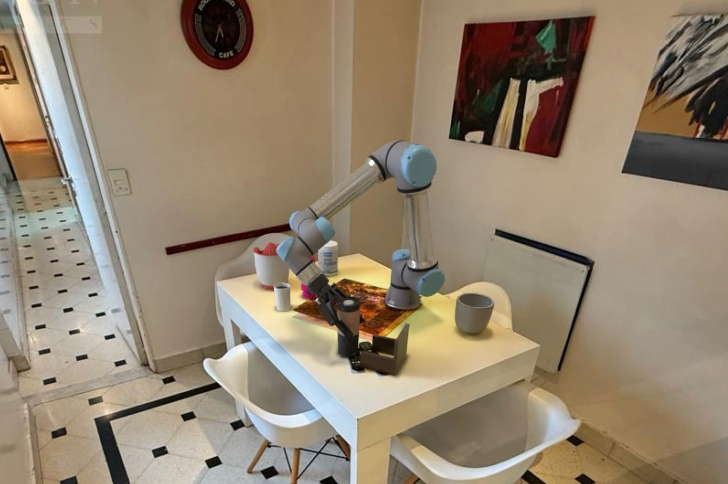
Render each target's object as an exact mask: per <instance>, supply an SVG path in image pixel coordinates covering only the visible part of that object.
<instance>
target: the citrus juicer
mask: <svg viewBox="0 0 728 484" xmlns="http://www.w3.org/2000/svg"><path fill="white" fill-rule="evenodd" d="M280 244H281V243H276V242H275V243H273V242H272V241H269V242H268V243H266V246H265V247H264V248H263V249H262V250H260V247H258V246H255V247H254V248H253V249H252V252H253V257H254V265H255V266H254V267H255V271H256V276H257V279H258V282H259V284H260V286H261V287H262V288H263V289H266V290H270V291H274V285H275V284H277V283H288V282H289V277H290V268H289V267H288V266H287V265H286V264H285V263H284V262H283V260H282V259H281V258H280V256H279V255H278V254H277V252H276V249H277V247H278V246H279V245H280Z"/></svg>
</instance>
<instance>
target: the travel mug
mask: <svg viewBox="0 0 728 484" xmlns="http://www.w3.org/2000/svg"><path fill="white" fill-rule="evenodd" d="M360 310H361V302H360V299H359V298H357V297H356V296H349V295H348V296H347V297H345V298H344V299H338V303H337V315H338V318H339V320H342V321H343V322H344V323H345V324H346V326H347V327H348V328H349V329H350V330H351V331H352V333H353V334H354V335H353V336H352V337H350V338H349V339H347V338H346V337H345V335H344V334H343V333H342V332H341V331H340V330H339V329H338V328H337V327H336V328H337V329H336V331H337V354H338V355H339V356H340V357H343V358H355V357H356V356H357V355H358V354H359V344H360V325H359V323H360V315H361V311H360ZM354 353H356V354H354ZM352 354H354V355H352Z"/></svg>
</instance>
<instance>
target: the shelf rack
mask: <svg viewBox="0 0 728 484" xmlns="http://www.w3.org/2000/svg"><path fill="white" fill-rule="evenodd" d="M410 326H411V323H408V322H405V324H404V325H403V327H402V329H401V330H400V332H399V333H398V335H397V337H396V338H394V337H390V336H385V335H379V334H373V335H372V338H371V339H372V340H371V351H372V352H369V351H365V350H361V352H360V361H359V368H360V369H365V370H370V371H373V372H374V371H375V372H378V373H382V374H386V375H391V376H397V374H398V372H399V370H400V368H401V366H402V365H403V363H404V361H405V359H406V357H407V353H408V343H409V333H410ZM375 352H379V353H382V354H387V355H382V354H379V353H375ZM388 355H392V356H388ZM380 369H382V370H380Z"/></svg>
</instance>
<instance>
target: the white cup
mask: <svg viewBox="0 0 728 484" xmlns="http://www.w3.org/2000/svg"><path fill="white" fill-rule="evenodd" d="M273 291H274V296H275V305H276V310H277V311H278V312H287V311H290V310H291V303H292V302H291V285H290V283H288V282H287V283H277V284H275V285H274V290H273Z"/></svg>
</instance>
